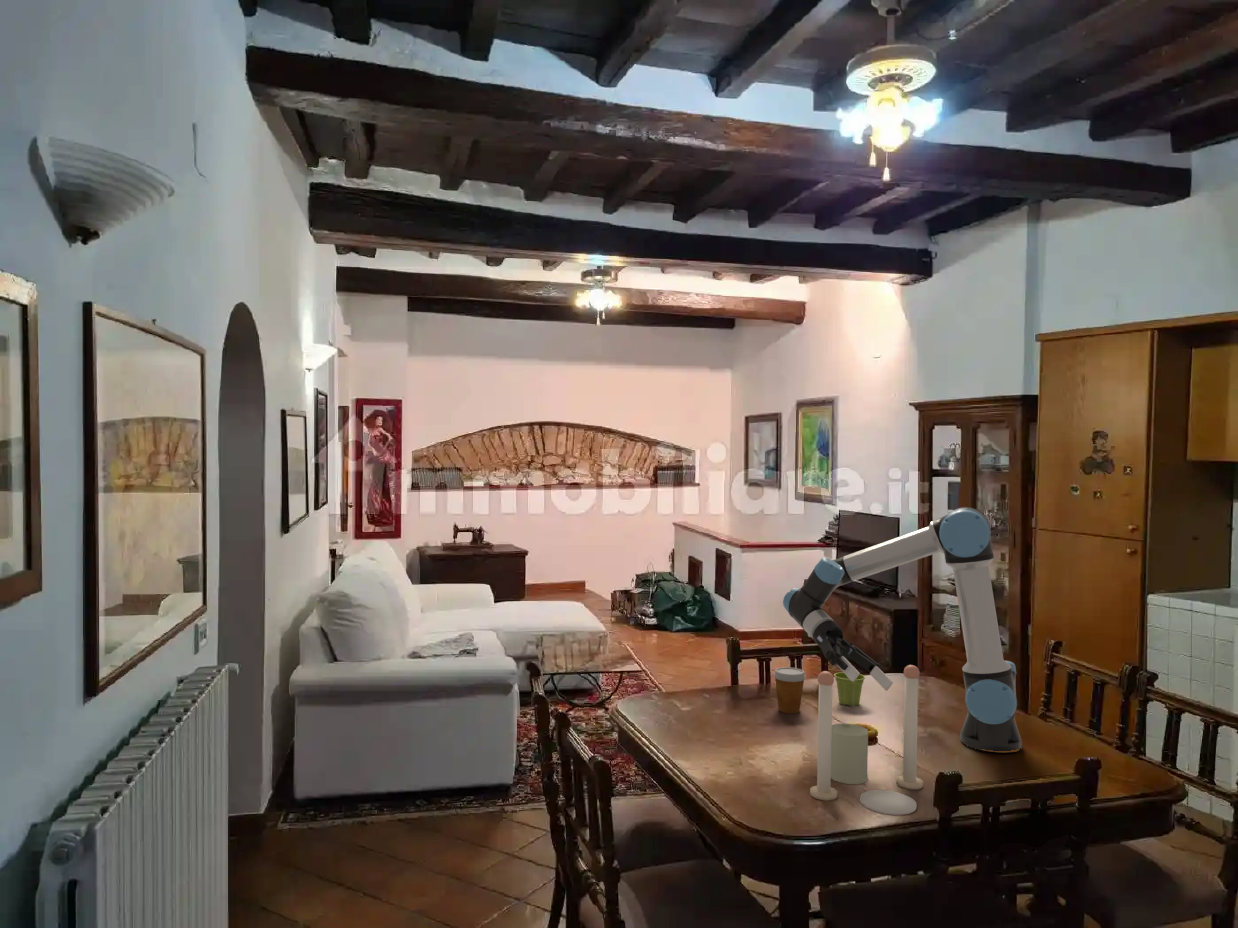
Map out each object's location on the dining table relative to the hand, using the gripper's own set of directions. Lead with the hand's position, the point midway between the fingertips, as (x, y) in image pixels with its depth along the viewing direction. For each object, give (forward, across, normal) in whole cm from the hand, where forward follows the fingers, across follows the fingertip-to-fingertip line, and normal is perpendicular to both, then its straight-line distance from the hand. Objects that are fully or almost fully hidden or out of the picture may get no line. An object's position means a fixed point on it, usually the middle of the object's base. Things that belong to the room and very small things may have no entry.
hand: (873, 682), depth 212 cm
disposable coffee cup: (-32, -22, -34) cm, 51 cm away
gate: (+19, +6, -17) cm, 26 cm away
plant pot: (-31, -42, -26) cm, 58 cm away
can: (+12, +3, -20) cm, 24 cm away
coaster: (+26, +8, -14) cm, 31 cm away
